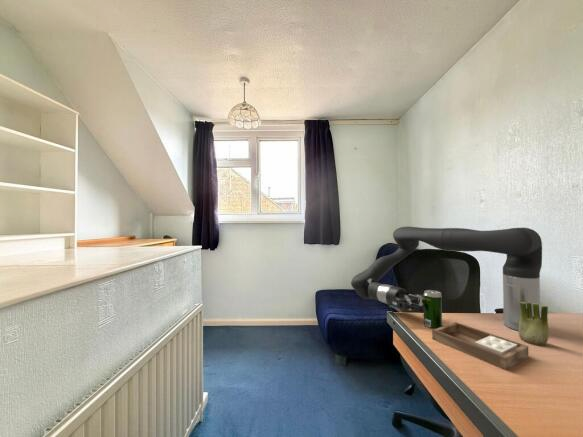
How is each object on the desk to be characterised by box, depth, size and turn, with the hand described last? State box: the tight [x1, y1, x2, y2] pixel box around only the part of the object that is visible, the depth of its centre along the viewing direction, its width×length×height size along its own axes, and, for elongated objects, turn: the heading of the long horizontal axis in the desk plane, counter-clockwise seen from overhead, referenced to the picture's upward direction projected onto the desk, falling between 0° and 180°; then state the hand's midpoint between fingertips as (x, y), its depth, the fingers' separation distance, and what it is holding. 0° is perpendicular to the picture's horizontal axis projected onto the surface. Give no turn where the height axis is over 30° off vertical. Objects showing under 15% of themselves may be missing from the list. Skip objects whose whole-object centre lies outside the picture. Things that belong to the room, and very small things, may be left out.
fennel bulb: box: [518, 302, 550, 347], centre depth 74 cm, size 6×5×12 cm
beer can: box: [423, 289, 443, 330], centre depth 86 cm, size 5×5×12 cm
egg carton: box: [475, 335, 517, 355], centre depth 67 cm, size 8×6×4 cm
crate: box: [431, 321, 530, 371], centre depth 71 cm, size 12×18×4 cm, turn 28°
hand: (431, 307), depth 86 cm, fingers open, 8 cm apart
